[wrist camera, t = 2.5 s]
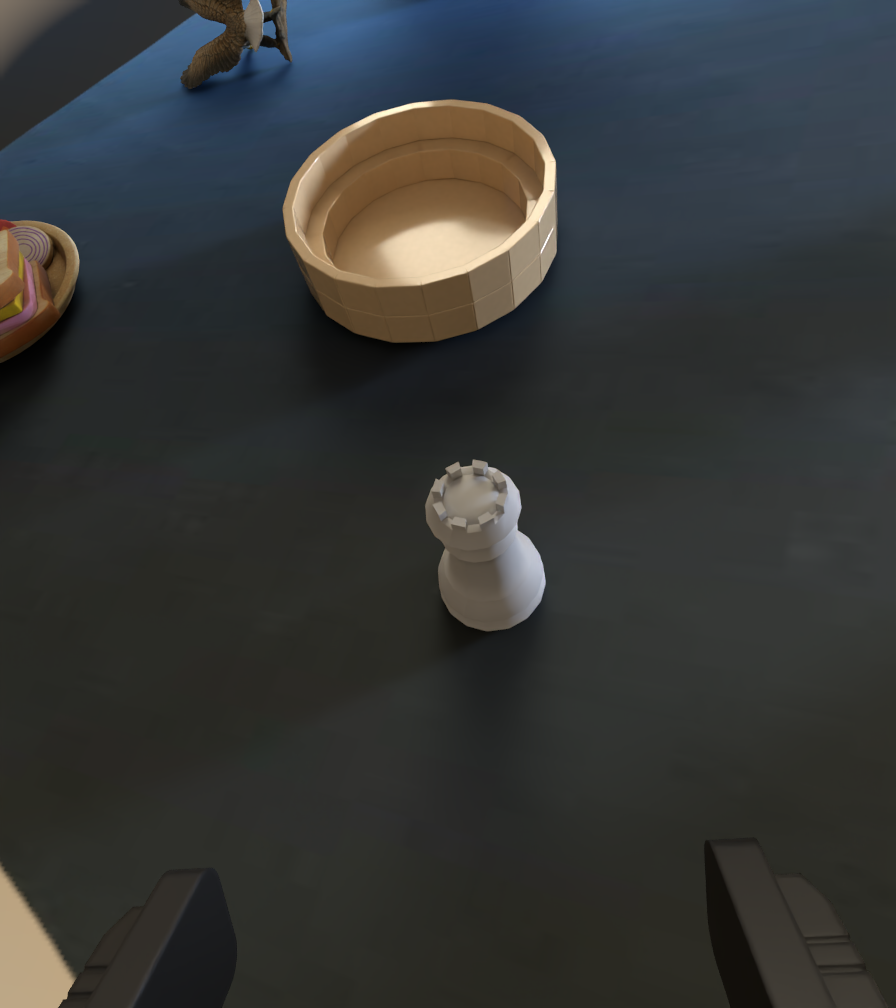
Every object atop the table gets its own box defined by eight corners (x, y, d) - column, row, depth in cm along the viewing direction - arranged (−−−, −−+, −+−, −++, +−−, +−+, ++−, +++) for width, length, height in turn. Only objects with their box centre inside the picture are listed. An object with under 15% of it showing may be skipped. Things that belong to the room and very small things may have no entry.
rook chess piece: (516, 653, 28) (498, 577, 21) (422, 607, 30) (376, 522, 23) (563, 561, 30) (561, 462, 23) (471, 522, 31) (443, 418, 24)
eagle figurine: (296, 3, 54) (177, 0, 53) (277, -66, 46) (139, -70, 46) (298, 106, 54) (180, 104, 54) (280, 54, 47) (144, 51, 47)
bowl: (560, 163, 42) (559, 89, 38) (552, 347, 35) (550, 280, 31) (334, 179, 44) (312, 111, 41) (288, 353, 38) (256, 292, 34)
